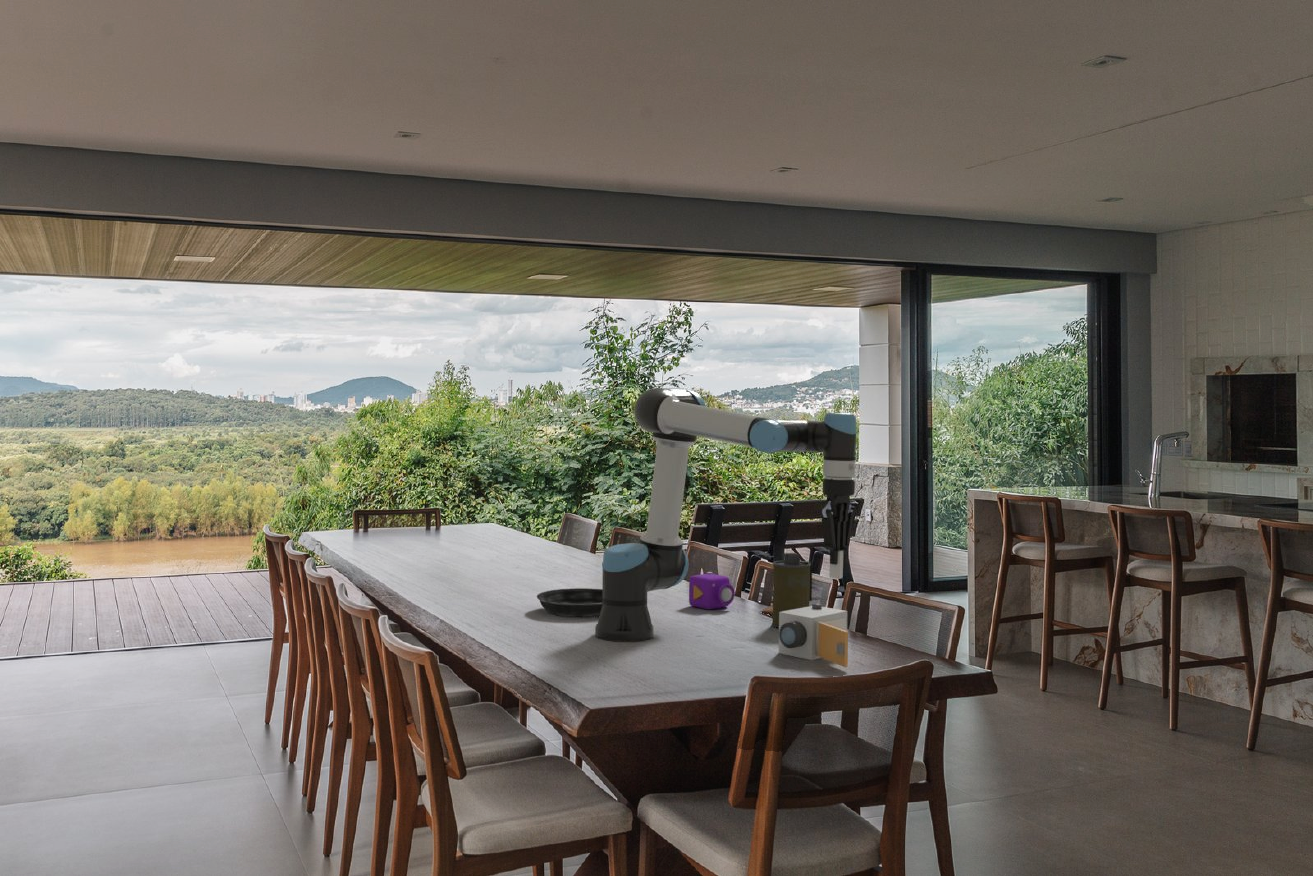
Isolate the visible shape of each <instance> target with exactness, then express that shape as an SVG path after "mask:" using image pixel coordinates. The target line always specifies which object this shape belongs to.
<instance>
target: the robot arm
mask: <svg viewBox="0 0 1313 876" xmlns="http://www.w3.org/2000/svg"><path fill="white" fill-rule="evenodd" d="M633 408H634V409H633V414H634V418H635V420H636V422H637V424H638V426H639V427H641V428H642V429H643V430H645V431H647V432H649V433H652V439H653V440H654V441H655V443H656V450H655V451H656V452H655V461H654V467H653V476H652V477H653V478H652V484H651V494H650V501H649V510H648V517H647V525H646V531H645V532H644V533H643V534H641V536H640V538H639V543H637V542H636V543H634V542H629V543H628V542H627V543H619V544H618V543H617V544H614V545H612V546H609V547H607V548H606V549H605V550H604V552H603V555H602V556H603V558H602V559H603V560H602V563H601V566H602V585H601V586H602V609H601V612H600V616H598V620H597V624H596V625H595V627H594V634H595V637H596V636H597V637H599V638H598V639H600V638H602V639H601V640H604V639H605V641H610V640H611V642H639V641H646V640H650V639H652V638H654V628H655V627H654V625H653V624H652V618H651V615H650V612H649V607H648V592H652V591H653V592H654V591H658V590H667V589H670V588H672V587H675V586H678V585H679V584H681V583H682V582H683V580H684V579H685V578H686V575H687V574H688V571H689V566H690V565H689V557H688V555H687V551H686V550H685V549H684V548H683V545H684V541H683V539H682V538H681V537H680V536H679V531H680V525H681V524H680V523H681V517H682V516H681V515H682V510H683V509H682V507H683V499H684V494H685V487H686V486H685V484H686V476H687V468H688V461H689V452H690V448H691V446H694V444H696V443H697V437H700V438H705V439H710V440H714V441H715V440H716V441H719V442H725V443H729V444H735V445H737V446H744V447H749V448H753V449H755V450H757V451H758V452H759V453H760V452H761V453H766V454H775V453H794V452H797V453H798V452H799V453H800V452H805V453H807V452H808V453H810V452H811V453H812V452H813V453H823V456H822V457H823V460H822V461H823V462H822V476H823V477H824V478H823V480H822V491H821V492H822V494H823V495H825V496H826V500H825V506H824V508H819V515H820V518H821V525H822V526H821V527H822V538H823V545H824V546H823V547H824V548H825V550H826V551H827V550H828V551H829V578H830V579H839V580H840V579H843V576H844V574H843V573H844V571H843V570H844V551H848V550H849V547H850V543H851V537H852V530H853V522H854V517H855V516H854V515H855V513H856V510H857V508H856V506H853V505H852V504H851V499H850V496H851V497H852V496H854V495H855V493H856V492H855V489H856V488H855V487H856V481H855V479H854V478H855V477H856V476H855V475H856V468H857V467H856V447H857V435H858V431H857V418H856V415H855V414H854V413H845V412H844V413H843V412H842V413H841V412H840V413H838V412H827V413H825V414H824V417H823V418H824V419H823V420H806V419H805V420H804V419H802V420H801V419H790V420H789V419H787V420H786V419H785V420H784V419H783V420H782V419H781V420H780V419H774V418H773V419H772V418H769V417H761V416H757V415H752V414H745V413H741V412H735V411H730V410H726V409H721V408H715V407H709V406H707V404H706V401H704V400H703V398H702V397H701V395H700V394H699V393H697V392H695V391H693V390H691V389H685V388H673V387H672V388H671V387H670V388H666V387H665V388H663V387H654V388H650V389H647V390H645V391H643V392H642V393H641V394H640V395H639V396H638V397H637V399H636V400H635V404H634V407H633ZM597 637H596V638H597Z"/></svg>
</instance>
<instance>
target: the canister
mask: <svg viewBox="0 0 1313 876" xmlns="http://www.w3.org/2000/svg"><path fill="white" fill-rule="evenodd" d="M781 556H783V560H775V561H772V565H773V566H772V567H773V569H772V570H773V571H772V573H773V575H772V579H773V580H772V584H773V585H772V605H773V617H772V623H771V627H773V628H775V627H778V628H777V629H779V612H782V611H787V610H793V609H798V608H803V607H809V606H810V602H812V596H813V593H812V592H813V591H812V589H813V562H812V561H809V560H801V558H800V554H798V553H796V552H784V553H782V554H781Z"/></svg>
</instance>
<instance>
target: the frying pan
mask: <svg viewBox="0 0 1313 876" xmlns="http://www.w3.org/2000/svg"><path fill="white" fill-rule="evenodd" d="M536 599H537V600H539V602H540V605H541V606H542V608H543V609H544V610H545V611H547V612H548V613H550V614H552V615H555V616H557V617H564V616H565V617H564V618H593V617H594V616H595V617H599V616H600V612H601V609H602V589H601V588H586V587H585V588H582V587H581V588H579V587H578V588H573V587H571V588H560V589H553V590H546V591H542V592H540V593H538V594H537V595H536Z"/></svg>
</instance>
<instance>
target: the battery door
mask: <svg viewBox="0 0 1313 876" xmlns="http://www.w3.org/2000/svg"><path fill="white" fill-rule="evenodd" d="M848 650H849V631H848V630H847V631H845V630H842V629H839V628H836V627H834V626H831V625H828V624H825V623H822V622H819V621H818V622H816V656H819V657H821V658H820V659H824V660H826V661H829V662H831V663H833V664H836V665H839V666H841V667H843V668H848V667H849V666H848V662H849V661H848V657H849V651H848Z"/></svg>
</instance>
